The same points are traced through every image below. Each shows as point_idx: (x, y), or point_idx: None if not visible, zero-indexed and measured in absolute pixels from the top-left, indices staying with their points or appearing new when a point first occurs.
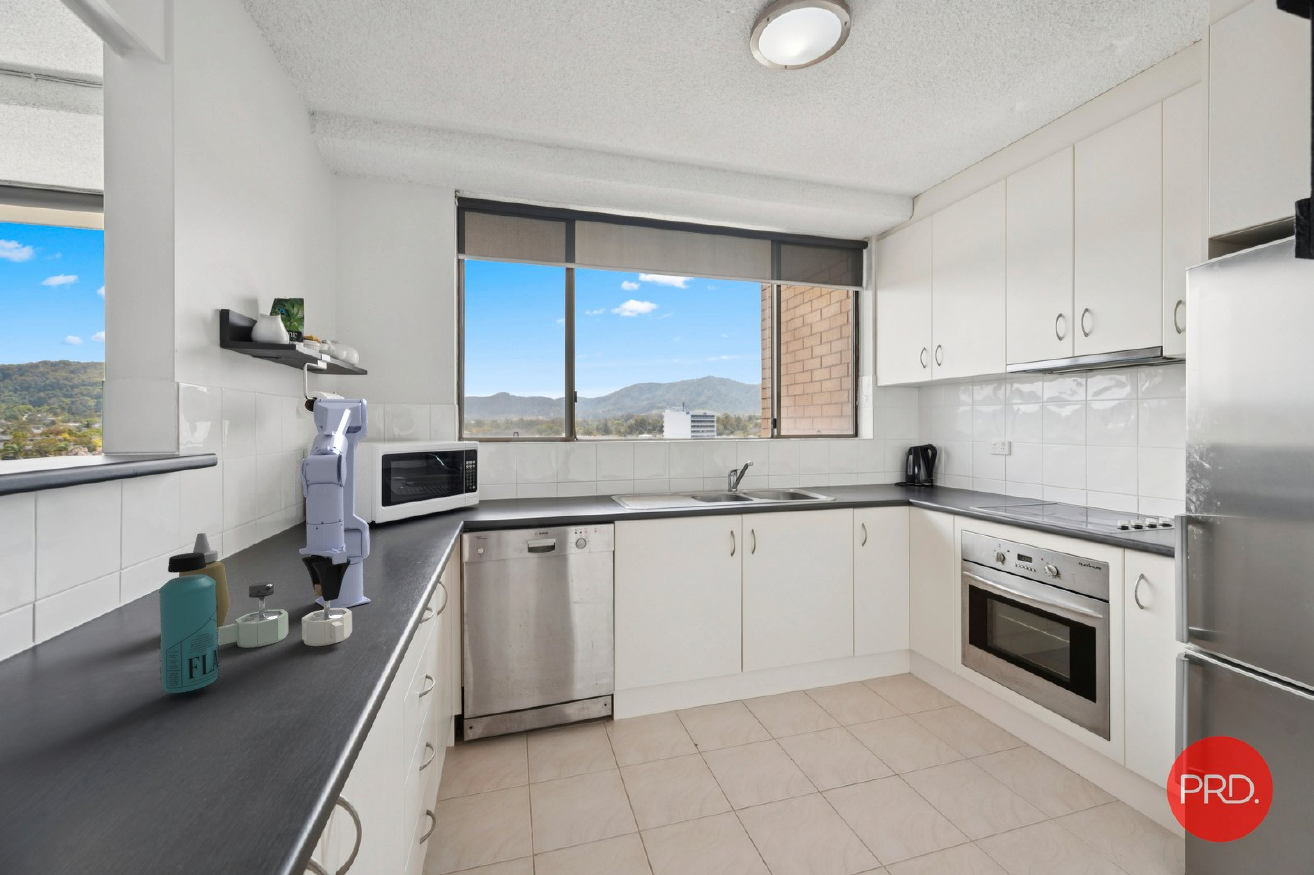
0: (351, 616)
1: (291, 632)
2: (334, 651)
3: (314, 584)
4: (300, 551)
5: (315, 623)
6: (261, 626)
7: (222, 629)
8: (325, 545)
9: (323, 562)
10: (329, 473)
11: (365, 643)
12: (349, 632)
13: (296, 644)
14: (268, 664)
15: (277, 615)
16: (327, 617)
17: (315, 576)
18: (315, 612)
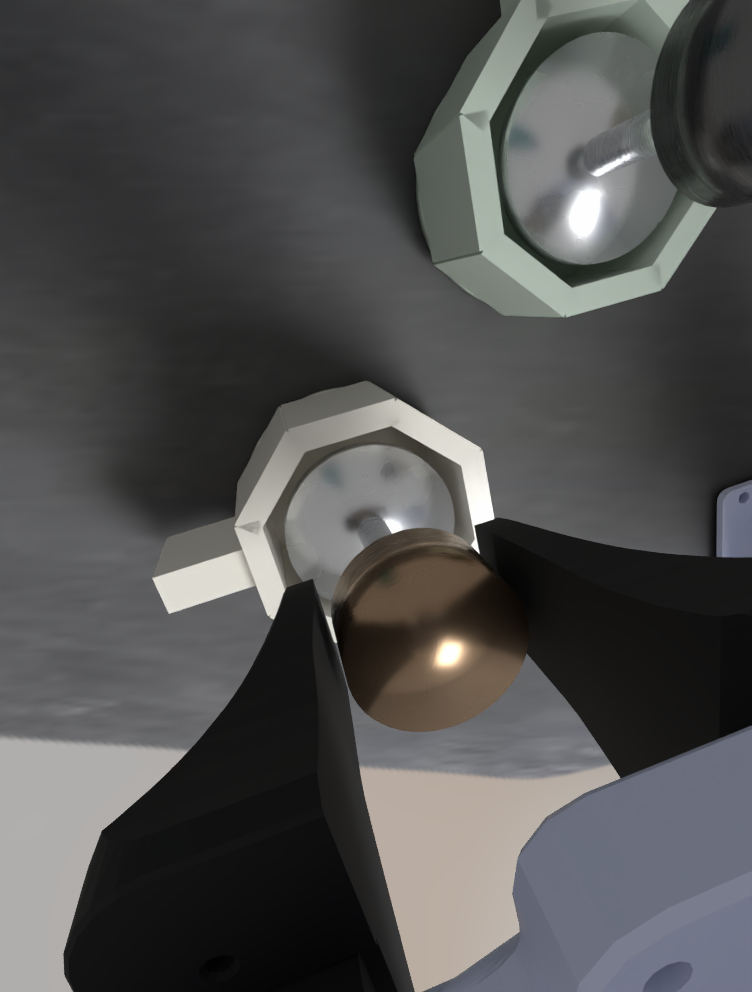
0: None
1: (545, 329)
2: (132, 519)
3: (523, 551)
4: (714, 833)
5: (262, 474)
6: (454, 152)
7: None
8: None
9: (229, 964)
10: None
11: (176, 637)
12: None
13: (343, 352)
14: (87, 214)
15: (573, 253)
16: (342, 533)
17: (570, 596)
18: (465, 471)
